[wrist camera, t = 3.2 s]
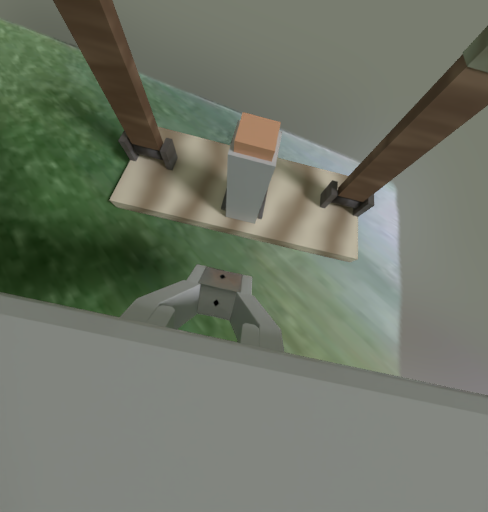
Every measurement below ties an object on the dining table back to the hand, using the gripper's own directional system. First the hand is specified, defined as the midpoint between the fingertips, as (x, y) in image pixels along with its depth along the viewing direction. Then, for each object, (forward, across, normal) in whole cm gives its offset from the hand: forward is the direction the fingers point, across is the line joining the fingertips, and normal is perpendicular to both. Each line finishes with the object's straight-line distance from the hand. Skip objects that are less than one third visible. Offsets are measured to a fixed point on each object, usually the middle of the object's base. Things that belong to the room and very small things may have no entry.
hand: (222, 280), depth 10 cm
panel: (+21, 0, -2) cm, 21 cm away
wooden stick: (+19, -14, -5) cm, 24 cm away
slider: (+17, 0, 0) cm, 17 cm away
